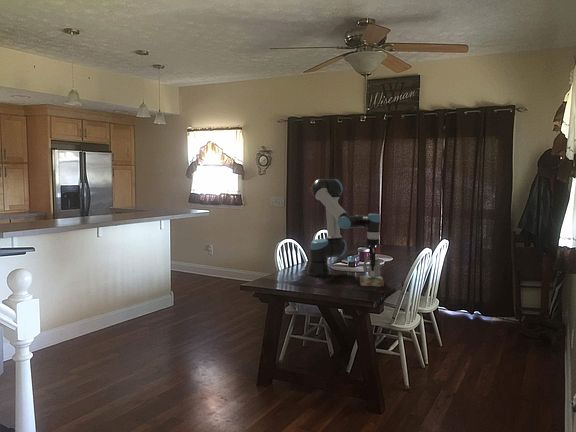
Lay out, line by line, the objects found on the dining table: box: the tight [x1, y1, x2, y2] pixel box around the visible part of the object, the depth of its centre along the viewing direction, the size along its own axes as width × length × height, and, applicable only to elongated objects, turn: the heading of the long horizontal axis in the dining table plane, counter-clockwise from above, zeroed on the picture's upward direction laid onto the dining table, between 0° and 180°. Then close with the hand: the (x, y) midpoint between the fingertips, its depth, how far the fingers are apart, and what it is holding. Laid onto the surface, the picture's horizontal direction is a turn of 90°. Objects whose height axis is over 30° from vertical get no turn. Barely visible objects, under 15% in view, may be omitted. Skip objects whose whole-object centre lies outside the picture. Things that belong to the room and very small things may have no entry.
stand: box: [359, 275, 385, 288], centre depth 301 cm, size 14×14×3 cm
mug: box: [362, 255, 381, 277], centre depth 301 cm, size 8×12×12 cm, turn 54°
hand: (371, 274), depth 301 cm, fingers closed on mug, 8 cm apart
